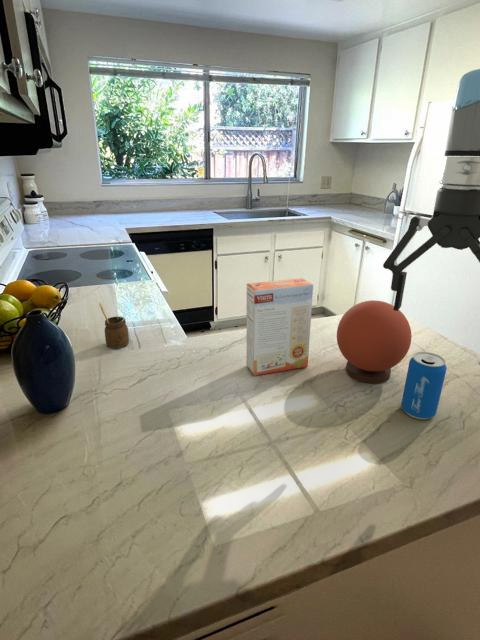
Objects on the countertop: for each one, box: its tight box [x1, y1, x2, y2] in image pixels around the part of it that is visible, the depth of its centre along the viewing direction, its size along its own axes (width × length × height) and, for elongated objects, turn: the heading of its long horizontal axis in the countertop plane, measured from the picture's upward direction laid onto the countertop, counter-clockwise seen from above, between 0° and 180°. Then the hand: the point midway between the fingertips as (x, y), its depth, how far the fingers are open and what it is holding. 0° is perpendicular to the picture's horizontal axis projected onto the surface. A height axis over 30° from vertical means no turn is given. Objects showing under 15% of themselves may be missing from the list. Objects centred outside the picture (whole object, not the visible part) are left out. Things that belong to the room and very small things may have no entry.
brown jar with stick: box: [98, 302, 130, 349], centre depth 105 cm, size 6×6×12 cm
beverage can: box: [400, 351, 448, 420], centre depth 78 cm, size 6×6×12 cm
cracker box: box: [246, 277, 314, 377], centre depth 93 cm, size 14×6×21 cm, turn 108°
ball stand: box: [336, 299, 413, 385], centre depth 91 cm, size 16×16×18 cm
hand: (437, 316), depth 70 cm, fingers open, 13 cm apart
